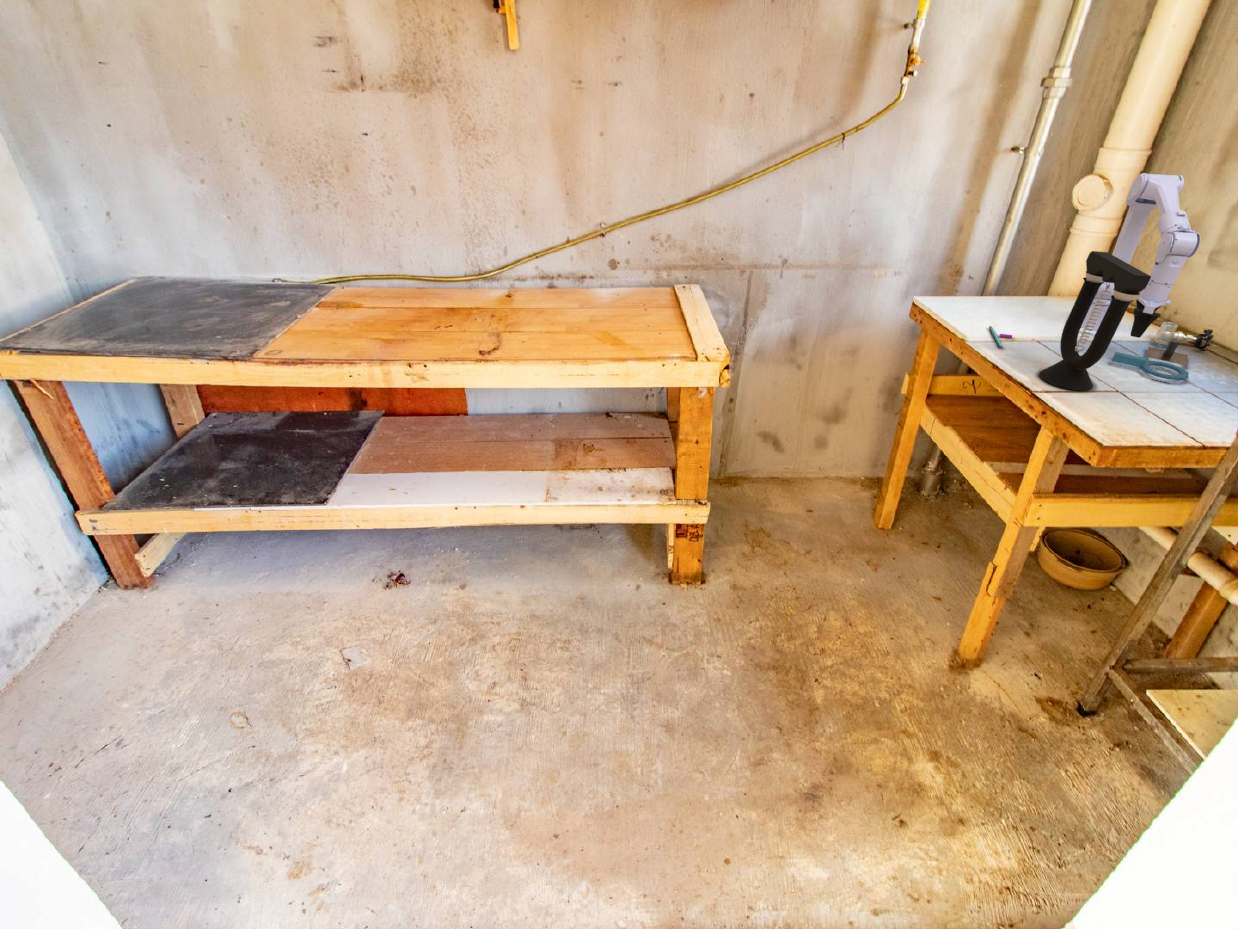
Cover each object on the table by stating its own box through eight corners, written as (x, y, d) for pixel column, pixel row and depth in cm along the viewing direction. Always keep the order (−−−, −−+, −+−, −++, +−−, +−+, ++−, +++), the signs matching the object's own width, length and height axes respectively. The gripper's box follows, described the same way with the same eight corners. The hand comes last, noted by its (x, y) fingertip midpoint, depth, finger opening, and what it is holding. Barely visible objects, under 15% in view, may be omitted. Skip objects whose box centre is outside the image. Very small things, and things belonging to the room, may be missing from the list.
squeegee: (1019, 347, 183) (1000, 345, 184) (1018, 350, 183) (999, 348, 184) (1007, 327, 195) (989, 325, 196) (1006, 330, 195) (988, 328, 196)
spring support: (1108, 398, 159) (1167, 276, 143) (1055, 394, 160) (1108, 273, 144) (1070, 363, 176) (1119, 251, 160) (1023, 360, 178) (1067, 248, 161)
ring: (1108, 369, 173) (1113, 358, 171) (1111, 357, 180) (1116, 346, 178) (1185, 387, 165) (1191, 376, 163) (1185, 374, 172) (1191, 362, 170)
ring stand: (1144, 360, 179) (1154, 341, 176) (1146, 350, 185) (1155, 332, 182) (1185, 369, 174) (1195, 350, 171) (1185, 358, 180) (1195, 340, 177)
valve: (1153, 348, 186) (1204, 356, 182) (1164, 326, 182) (1216, 333, 178) (1148, 340, 191) (1197, 347, 187) (1159, 318, 187) (1209, 325, 183)
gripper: (1179, 292, 157) (1152, 344, 165) (1180, 277, 167) (1155, 327, 175) (1144, 285, 161) (1120, 337, 168) (1147, 271, 171) (1124, 321, 178)
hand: (1136, 332), depth 172 cm, fingers open, 7 cm apart
